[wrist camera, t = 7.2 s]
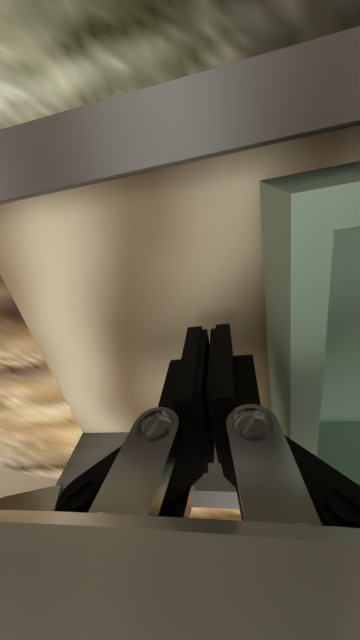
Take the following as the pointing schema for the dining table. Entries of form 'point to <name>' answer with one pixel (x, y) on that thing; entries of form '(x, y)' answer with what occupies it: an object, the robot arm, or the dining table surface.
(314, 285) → the box
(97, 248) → the bay
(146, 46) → the dining table surface
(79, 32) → the dining table surface
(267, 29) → the dining table surface
